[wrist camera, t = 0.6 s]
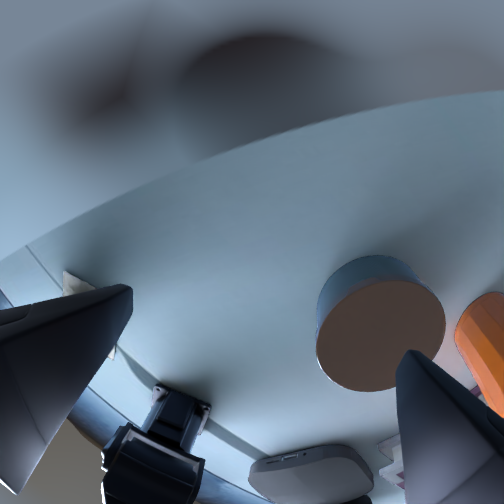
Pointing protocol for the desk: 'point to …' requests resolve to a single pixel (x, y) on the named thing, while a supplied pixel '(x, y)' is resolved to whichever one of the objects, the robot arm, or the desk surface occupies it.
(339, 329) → the jar
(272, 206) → the desk surface
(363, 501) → the black blower fan
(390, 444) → the book
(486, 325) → the cup
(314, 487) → the media streaming box
